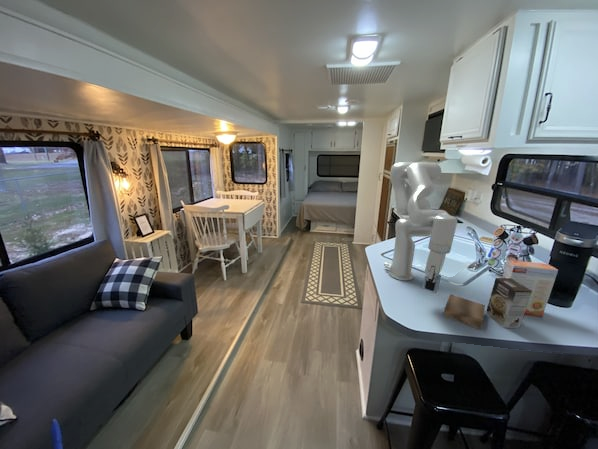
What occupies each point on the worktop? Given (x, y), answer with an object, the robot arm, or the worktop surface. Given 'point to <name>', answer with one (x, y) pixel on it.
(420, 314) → the worktop surface
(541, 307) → the cracker box
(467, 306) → the walnut base
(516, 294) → the coffee box
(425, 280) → the blue block
